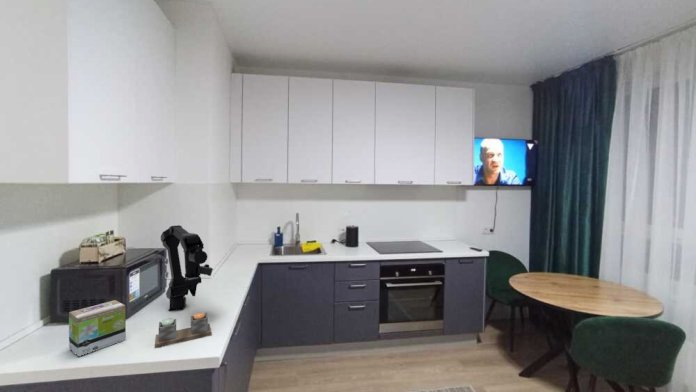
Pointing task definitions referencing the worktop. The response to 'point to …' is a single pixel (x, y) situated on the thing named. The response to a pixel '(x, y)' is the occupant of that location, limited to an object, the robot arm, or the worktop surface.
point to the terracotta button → (199, 315)
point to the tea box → (96, 327)
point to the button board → (182, 332)
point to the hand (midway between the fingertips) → (193, 296)
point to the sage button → (167, 322)
